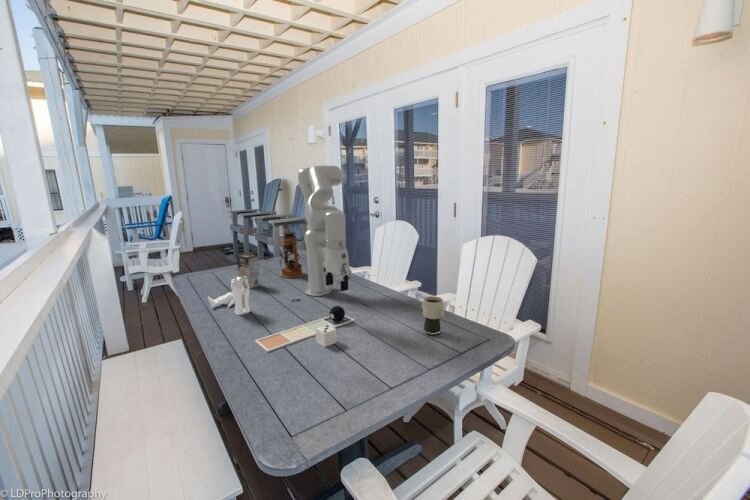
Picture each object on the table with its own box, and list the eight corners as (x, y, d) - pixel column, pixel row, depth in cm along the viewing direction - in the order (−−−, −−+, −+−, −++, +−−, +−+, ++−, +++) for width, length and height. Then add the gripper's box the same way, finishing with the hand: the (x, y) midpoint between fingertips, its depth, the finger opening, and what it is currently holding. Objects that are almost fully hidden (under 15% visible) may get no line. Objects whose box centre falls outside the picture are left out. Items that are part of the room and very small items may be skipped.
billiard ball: (326, 321, 137) (326, 307, 136) (337, 316, 141) (336, 302, 140) (337, 325, 133) (337, 310, 132) (348, 320, 138) (347, 306, 137)
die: (328, 337, 123) (327, 324, 122) (336, 342, 120) (336, 328, 119) (316, 342, 120) (315, 328, 119) (324, 347, 116) (324, 333, 115)
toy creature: (206, 293, 155) (232, 283, 161) (210, 305, 157) (237, 295, 163) (209, 302, 146) (238, 290, 151) (214, 314, 148) (242, 303, 153)
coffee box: (238, 285, 180) (236, 255, 177) (248, 282, 186) (246, 253, 182) (250, 288, 176) (247, 258, 172) (260, 285, 181) (258, 255, 178)
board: (339, 314, 144) (339, 312, 144) (354, 321, 137) (354, 319, 137) (254, 342, 120) (254, 340, 120) (267, 352, 113) (267, 350, 113)
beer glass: (245, 316, 142) (242, 281, 138) (230, 314, 143) (226, 280, 140) (254, 309, 148) (251, 276, 145) (239, 308, 150) (236, 275, 147)
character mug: (449, 335, 125) (451, 301, 122) (436, 341, 121) (437, 306, 118) (428, 325, 134) (429, 293, 131) (414, 330, 129) (415, 297, 127)
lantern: (309, 276, 197) (307, 224, 190) (287, 280, 189) (284, 226, 182) (296, 270, 210) (293, 221, 203) (275, 273, 202) (272, 222, 196)
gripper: (357, 246, 127) (358, 290, 130) (330, 240, 139) (331, 281, 143) (341, 248, 122) (342, 295, 125) (314, 242, 134) (316, 284, 138)
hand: (336, 287), depth 134 cm, fingers open, 9 cm apart
